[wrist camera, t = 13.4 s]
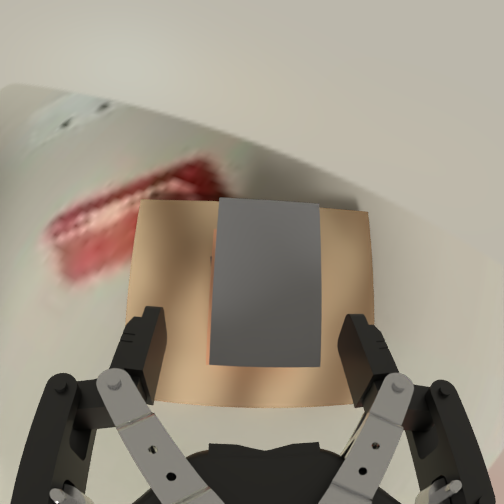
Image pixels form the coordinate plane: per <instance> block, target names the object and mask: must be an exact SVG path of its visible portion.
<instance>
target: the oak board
mask: <svg viewBox="0 0 504 504" xmlns="http://www.w3.org/2000/svg"><path fill="white" fill-rule="evenodd" d="M218 209H219V202H217V201H189V200H142V199H141V202H140V208H139V214H138V220H137V226H136V233H135V239H134V247H133V254H132V262H131V270H130V279H129V288H128V299H127V311H126V324H127V323H128V322H129V321H130V320H131V319H132V318H133V317H134V316H136V317H142V314H143V311H144V309H145V307H146V306H157V307H163V309H164V315H165V322H166V329H167V345H166V350H165V354H164V358H163V362H162V367H161V371H160V376H159V380H158V385H157V389H156V394H155V399H154V400H156V401H164V402H172V403H182V404H192V405H205V406H220V407H244V408H294V407H318V406H333V405H345V404H353V400H352V397H351V393H350V390H349V386H348V383H347V379H346V376H345V372H344V369H343V366H342V362H341V359H340V356H339V353H338V347H337V343H338V337H339V334H340V331H341V328H342V325H343V322H344V319H345V316H346V315H347V314H364V315H365V317H366V319H367V322H368V324H369V325H374V289H373V268H372V252H371V239H370V228H369V217H368V212H364V211H353V210H342V209H330V208H319V210H320V235H321V280H322V321H321V365H320V367H239V366H219V365H206V350H207V328H208V309H209V292H210V276H211V261H212V247H213V234H214V229H217V222H218ZM126 324H125V326H126Z"/></svg>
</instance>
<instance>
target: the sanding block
mask: <svg viewBox="0 0 504 504" xmlns="http://www.w3.org/2000/svg"><path fill="white" fill-rule="evenodd" d="M321 321H322V280H321V235H320V210H319V204H316V203H303V202H289V201H275V200H259V199H240V198H219V209H218V222H217V229H214V234H213V247H212V261H211V276H210V292H209V309H208V328H207V350H206V365H219V366H239V367H320V365H321Z"/></svg>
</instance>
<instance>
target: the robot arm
mask: <svg viewBox="0 0 504 504" xmlns="http://www.w3.org/2000/svg"><path fill="white" fill-rule="evenodd" d="M166 345H167V329H166V322H165V315H164V309H163V307H157V306H146V307H145V309H144V311H143V314H142V317H136V316H134V317H133V318H132V319H131V320H130V321H129V322H128V323H127V324H126V326H125V329H124V331H123V334H122V336H121V339H120V342H119V344H118V347H117V349H116V352H115V355H114V357H113V360H112V363H111V366H110V368H109V369H108V370H105V371H104V372H102V373H101V374H100V375H99V377H98V378H97V379H94V380H86V381H76V380H75V378H74V377H73V376H72V375H70V374H67V373H59V374H56V375H54V376H52V377H51V378H50V379H49V380H48V382H47V384H46V386H45V389H44V392H43V394H42V397H41V400H40V402H39V405H38V408H37V411H36V414H35V416H34V419H33V422H32V425H31V428H30V431H29V435H28V438H27V441H26V444H25V448H24V451H23V455H22V458H21V462H20V465H19V469H18V473H17V477H16V481H15V486H14V490H13V495H12V499H11V504H94V503H93V501H92V500H91V499H90V498H89V497H87V496H86V495H85V490H86V484H87V478H88V472H89V466H90V461H91V455H92V450H93V445H94V440H95V436H96V431H97V429H100V428H110V427H116V429H117V431H118V433H119V435H120V436H121V438H122V440H123V442H124V444H125V446H126V447H127V449H128V451H129V453H130V454H131V456H132V458H133V460H134V461H135V463H136V465H137V466H138V468H139V469H140V471H141V473H142V474H143V476H144V477H145V479H146V481H147V482H148V484H149V485H150V487H151V488H150V489H149V490H148V491H147V492H145V493H144V494H143V495H142V496H141V497H140V498H138V499H137V500H136V501H135V502H134V503H132V504H401V503H400V502H398V501H397V500H396V499H394V498H393V497H392V496H390V495H389V494H388V493H386V492H385V491H384V490H383V489H381V488H380V487H379V484H380V482H381V480H382V478H383V476H384V474H385V472H386V470H387V468H388V465H389V463H390V461H391V459H392V456H393V454H394V452H395V449H396V447H397V445H398V442H399V440H400V437H401V435H402V432H403V430H405V432H406V436H407V439H408V443H409V447H410V451H411V455H412V458H413V462H414V466H415V471H416V475H417V479H418V483H419V488H420V493H419V494H418V495H417V497H416V499H415V504H495V502H496V501H495V495H494V492H493V488H492V485H491V481H490V478H489V475H488V472H487V469H486V466H485V463H484V460H483V457H482V454H481V451H480V448H479V445H478V443H477V440H476V437H475V435H474V432H473V429H472V427H471V424H470V422H469V419H468V417H467V414H466V412H465V409H464V407H463V405H462V402H461V400H460V398H459V395H458V393H457V391H456V389H455V387H454V386H453V385H452V384H451V383H450V382H448V381H445V380H437V381H435V382H433V383H432V385H431V386H430V387H426V386H419V385H414V384H413V383H412V381H411V380H410V379H409V378H408V377H407V376H406V375H404V374H401V373H399V371H398V369H397V366H396V364H395V362H394V360H393V357H392V355H391V353H390V351H389V349H388V346H387V344H386V342H385V340H384V338H383V335H382V333H381V332H380V331H379V330H378V329H377V328H376V327H375V326H374V325H369V324H368V322H367V319H366V317H365V315H364V314H347V315H346V316H345V319H344V322H343V325H342V328H341V331H340V334H339V337H338V343H337V347H338V353H339V356H340V359H341V362H342V366H343V369H344V372H345V376H346V379H347V383H348V386H349V390H350V393H351V397H352V400H353V404H354V407H355V408H358V407H364V411H365V412H364V414H363V415H362V417H361V419H360V421H359V423H358V425H357V426H356V428H355V430H354V432H353V434H352V436H351V437H350V439H349V441H348V443H347V444H346V446H345V448H344V449H343V451H342V452H341V454H340V455H338V454H336V453H334V452H331V451H328V450H324V449H320V447H319V442H313V443H299V444H291V445H287V446H283V447H279V448H276V449H272V450H267V451H263V450H258V449H253V448H249V447H244V446H240V445H233V444H211V443H209V450H205V451H201V452H197V453H194V454H192V455H190V456H188V457H186V458H185V456H184V455H183V454H182V452H181V451H180V450H179V448H178V447H177V445H176V444H175V443H174V441H173V440H172V438H171V437H170V435H169V434H168V433H167V431H166V430H165V428H164V427H163V425H162V424H161V422H160V421H159V419H158V418H157V416H156V415H155V414H154V413H152V412H151V411H150V409H149V407H148V406H147V404H148V405H153V404H154V399H155V394H156V389H157V385H158V380H159V376H160V371H161V367H162V362H163V358H164V354H165V350H166Z"/></svg>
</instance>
